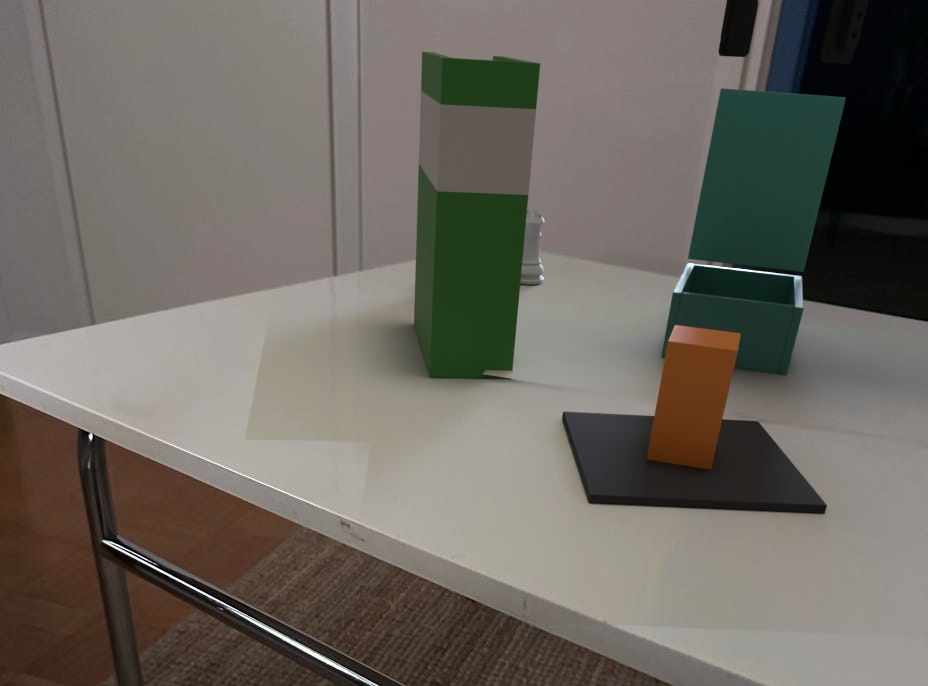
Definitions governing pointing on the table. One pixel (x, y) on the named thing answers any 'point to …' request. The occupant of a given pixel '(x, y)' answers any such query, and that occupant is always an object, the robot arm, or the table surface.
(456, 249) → the green and white box
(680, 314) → the lunchbox
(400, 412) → the table surface
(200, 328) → the table surface
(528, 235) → the rook chess piece
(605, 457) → the mat
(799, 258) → the lunchbox lid
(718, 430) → the carton
